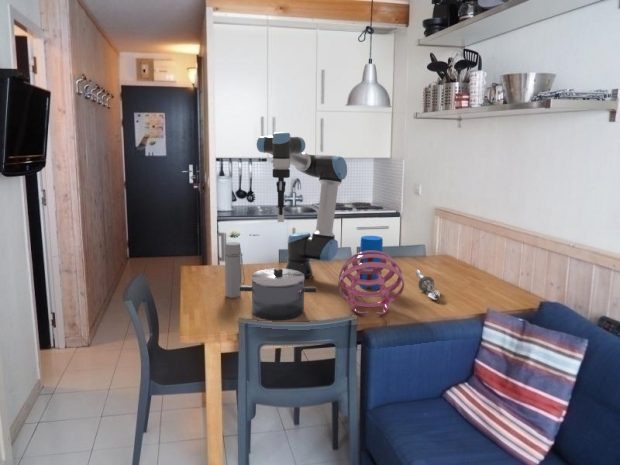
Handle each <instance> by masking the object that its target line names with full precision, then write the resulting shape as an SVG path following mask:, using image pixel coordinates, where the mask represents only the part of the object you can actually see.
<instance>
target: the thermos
mask: <svg viewBox="0 0 620 465" xmlns="http://www.w3.org/2000/svg"><path fill="white" fill-rule="evenodd" d="M383 244H384V243H383V237H382V236H378V235H363V236H361V237H360V247H359V248H360V249H359V252H363V251H370V250H373V251H380V252H383ZM364 255H365V254H364ZM366 262H381V258H364V259H360V260H359V264H361V263H366ZM372 268H373V267H369V268H365V269H372ZM380 275H381V276H382V270H381V271H380ZM359 279H361V280H375V279H377V275H376V274H363V273H361V274H360V275H359ZM358 286H359V288H361V289H364V290H370V291H371V290H372V291H373V290H377V289H379V290H380V286H379V285H374V286H363V285H358Z"/></svg>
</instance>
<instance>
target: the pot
mask: <svg viewBox="0 0 620 465" xmlns="http://www.w3.org/2000/svg"><path fill="white" fill-rule="evenodd" d="M240 291H241V292H251V313H252V315H253V316H254V317H257V318H258V319H262V320H267V321H275V322H276V321H291V320H294V319H295V320H296V319H298V318H300V317H302V316H303V314H304V313H305V312H304V308H305V293H317V287H316V286H305V281H304V282H303V283H302V284H300V285H297V286H293V287H285V288H272V287H264V286H260V285H257V284H255V283H253V282H252V281H251V285H245V284H244V285H242V284H241V285H240Z"/></svg>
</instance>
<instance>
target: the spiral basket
mask: <svg viewBox="0 0 620 465" xmlns="http://www.w3.org/2000/svg"><path fill="white" fill-rule="evenodd" d="M364 254H365V255H364ZM364 258H381V262H366V263H361V264H360V263H359V262H358V261H360V259H364ZM387 261H388V262H391V264H389V263H387ZM351 264H352V266H351V267H349V266H350V265H351ZM369 267H373V268H372V269H365V268H369ZM384 269H386V270H388V272H387V273H386V274H385V275H384V276H382V274H381V275H380V271H381V272H382V271H383V270H384ZM354 272H356V273H355V275H353V273H354ZM361 273H363V274H376V275H377V279H375V280H361V279H359V275H360V274H361ZM395 274H396V275H397V276H398V277H397V279H396V281H394V283H392V284H391V285H389V286H388V287H386V282H388V281H389V280H390V279H392V278H393V277H394V275H395ZM345 278H347V280H349V281H350V286H348V285H347V284H346V282H345V281H344V279H345ZM400 284H401V287H400V289H399V290H398V292H396V294H394V295H392V296H391V297H389V294H391V293H392V292H393V291H394V290H396V289H397V288H398V287H399V286H400ZM337 285H338V286H337V287H338V290H339V291H338V293H339V294H340V296H341V297H342V299H344V300H345V301H346V302H347V303H348V304H349V306H350V307H351V309H352V310H353V312H355V313H356V314H358V315H360V316H361V315H363V316H364V315H367V314H369V311H368V310H367V311H363V312H362V311H359V310H358V309H357V308H356V306H358V307H363V308H377V307H382V311H381V312H379V311H376V314H377V315H379V316H383V315H385V314H387V311H388V309H389V305H390V304H391V303H393V302H394V301H396V300H397V299H399V297H400V296H401V295H402V293H403V292H404V288H405V279H404V276H403V271H402V268H401V267H400V264H399V263H398V262H396V260H394V259H393V257H392V256H390V255H388V254H387V253H385V252H383V251H382V252H380V251H373V250H370V251H363V252H360V251H359V252H357V253H355V254H353V255H351V257H349V258H348V259H347V260H346V262H345V263H344V264H343V266H342V267H341V269H340V272H339V274H338V284H337ZM359 285H363V286H374V285H379V286H380V288H379V290H377V291H360V290H357V289H356V286H359ZM342 288H343V290H345V292H347V293H348V296H347V295H346V294H345V293H344V292H343V291H342ZM355 297H361V298H376V297H377V298H378V297H381V298H382V300H380V301H375V302H363V301H359V300H356V299H355Z"/></svg>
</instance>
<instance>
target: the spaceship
mask: <svg viewBox="0 0 620 465" xmlns="http://www.w3.org/2000/svg"><path fill="white" fill-rule="evenodd" d="M415 275H416V276H417V278H419V281H418V284H417V285H418V288H419V290H420V291H422V292H425V294H426V296H427V297H429V298H431V299H433V300H434V301H438V300H439V299H440V296H441V294H440V290H438V289H437V288H435V280H434V279H433V278H432V277H431V276H427V275H423V274H422V272H421V271H420V269H416V270H415ZM434 289H435V290H434Z"/></svg>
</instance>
